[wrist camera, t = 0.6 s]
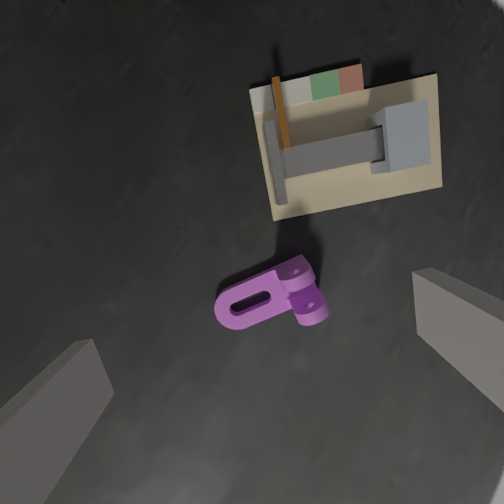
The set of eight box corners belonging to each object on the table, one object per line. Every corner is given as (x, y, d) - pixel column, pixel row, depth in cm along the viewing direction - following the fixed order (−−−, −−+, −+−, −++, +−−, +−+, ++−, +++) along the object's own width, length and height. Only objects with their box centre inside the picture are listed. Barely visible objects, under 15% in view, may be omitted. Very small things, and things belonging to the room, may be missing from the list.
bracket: (301, 253, 34) (314, 269, 27) (318, 291, 35) (334, 316, 28) (208, 295, 35) (198, 320, 28) (227, 330, 36) (222, 362, 30)
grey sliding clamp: (254, 93, 30) (255, 75, 25) (379, 65, 29) (403, 42, 24) (274, 203, 32) (278, 205, 28) (389, 179, 32) (412, 178, 27)
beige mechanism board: (249, 91, 30) (249, 72, 25) (433, 49, 29) (469, 22, 24) (273, 220, 33) (277, 225, 28) (440, 186, 32) (472, 186, 27)
